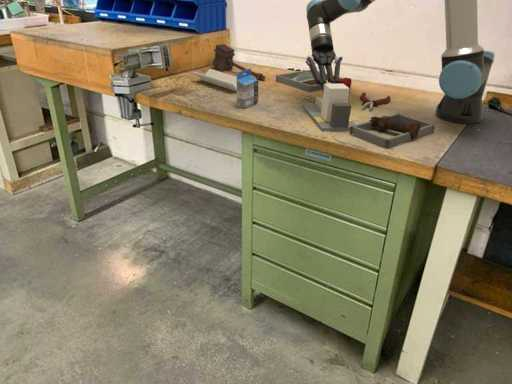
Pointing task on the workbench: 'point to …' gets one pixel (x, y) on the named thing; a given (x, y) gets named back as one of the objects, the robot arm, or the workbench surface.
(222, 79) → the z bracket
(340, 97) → the cream upright block
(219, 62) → the hammer
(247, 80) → the label tape box
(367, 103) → the pliers
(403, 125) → the bolt
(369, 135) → the bolt parts frame
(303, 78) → the metal bracket
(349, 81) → the mechanical linkage
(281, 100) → the workbench surface
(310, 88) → the bracket parts frame
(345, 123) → the rail board
